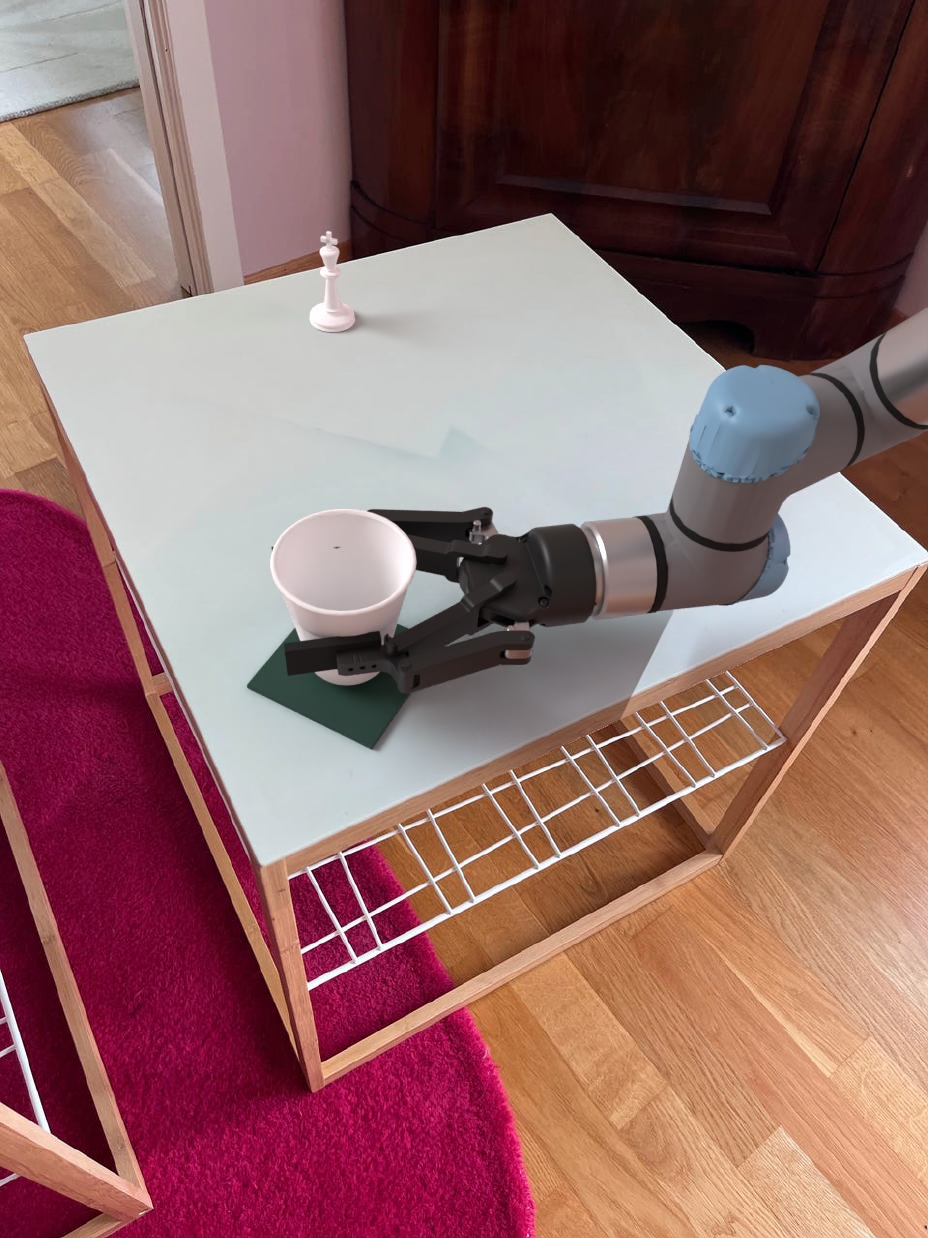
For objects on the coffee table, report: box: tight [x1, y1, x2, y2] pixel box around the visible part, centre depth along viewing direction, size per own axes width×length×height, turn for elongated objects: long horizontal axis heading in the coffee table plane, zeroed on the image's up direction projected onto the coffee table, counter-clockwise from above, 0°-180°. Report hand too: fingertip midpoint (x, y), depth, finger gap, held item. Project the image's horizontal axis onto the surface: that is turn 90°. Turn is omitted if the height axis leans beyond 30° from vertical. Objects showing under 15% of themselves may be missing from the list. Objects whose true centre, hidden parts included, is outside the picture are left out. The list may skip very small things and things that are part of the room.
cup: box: [269, 508, 417, 685], centre depth 69 cm, size 10×10×11 cm
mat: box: [246, 623, 412, 750], centre depth 74 cm, size 11×11×1 cm
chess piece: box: [309, 230, 356, 333], centre depth 99 cm, size 5×5×10 cm
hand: (279, 609), depth 67 cm, fingers closed on cup, 8 cm apart
